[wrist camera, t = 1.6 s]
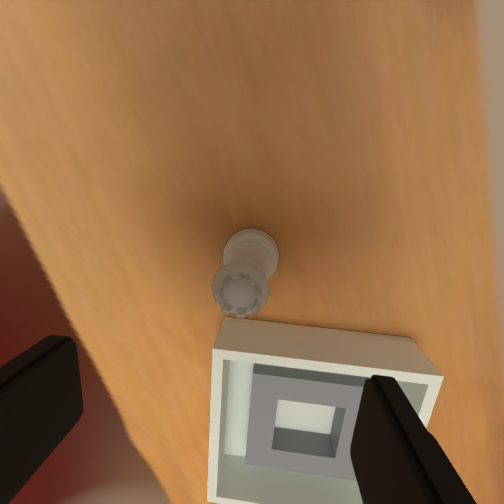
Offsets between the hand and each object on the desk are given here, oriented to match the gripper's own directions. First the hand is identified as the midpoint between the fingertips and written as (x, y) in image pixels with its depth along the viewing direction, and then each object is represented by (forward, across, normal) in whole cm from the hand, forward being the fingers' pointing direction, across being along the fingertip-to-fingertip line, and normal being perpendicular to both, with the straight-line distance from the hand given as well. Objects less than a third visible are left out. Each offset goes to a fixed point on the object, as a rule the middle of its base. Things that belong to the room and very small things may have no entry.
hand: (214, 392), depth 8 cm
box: (+14, -6, +13) cm, 20 cm away
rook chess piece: (+14, 0, -1) cm, 14 cm away
